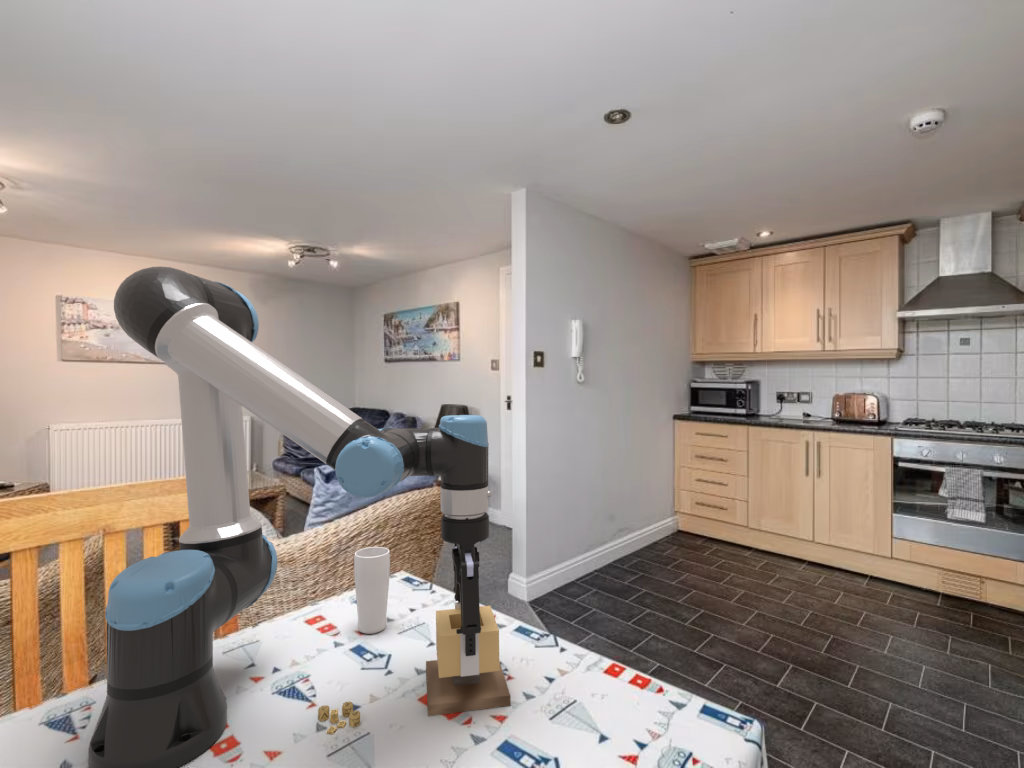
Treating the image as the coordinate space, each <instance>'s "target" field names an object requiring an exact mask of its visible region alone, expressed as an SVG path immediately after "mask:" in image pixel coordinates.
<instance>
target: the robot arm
mask: <svg viewBox="0 0 1024 768" xmlns="http://www.w3.org/2000/svg"><path fill="white" fill-rule="evenodd" d="M113 313H114V314H115V319H116V321H117V323H118V324H119V326H120V328H121V329H122V330H123V331H124V333H125V334H126V335H127V336H128V337H129V338H130V339H131V340H132V341H134V342H135V343H137V344H138V345H139V346H140V347H142V348H143V349H145V350H146V351H147V352H149V353H151V354H152V355H154V356H155V357H156V358H158V360H160V361H162V362H164V363H165V366H166V367H168V368H170V370H172V371H173V372H175V374H176V375H177V377H178V378H177V379H178V391H179V404H180V419H181V431H182V432H181V433H182V443H183V444H182V445H183V457H184V468H185V469H184V471H185V483H186V485H185V486H186V495H187V496H186V498H187V510H188V523H189V525H188V527H187V529H185V531H184V532H183V533H182V534H181V535H180V537H179V538H178V543H179V545H178V546H179V550H174V551H173V550H172V551H169V552H163V553H160V554H159V555H158V556H149V557H146V558H143V559H141V560H139V561H138V562H134V563H133V564H131V565H129V566H128V567H126V568H124V569H123V570H121V572H119V573H118V574H117V575H116V576H115V577H114V578H113V580H112V582H110V584H109V585H110V586H109V588H108V592H107V593H108V596H107V605H106V607H105V613H104V614H105V620H106V699H105V700H104V702H103V706H102V709H101V711H100V715H99V716H98V720H97V722H96V724H95V728H94V730H93V733H92V736H91V739H90V742H89V746H88V758H87V759H88V762H87V763H88V765H87V766H89V767H88V768H178V767H180V766H182V765H185V764H186V763H188V762H190V761H191V760H194V759H195V758H196V757H199V755H200V756H201V754H203V753H204V752H205V751H207V750H208V749H209V748H211V746H213V744H215V743H216V742H217V740H219V738H220V737H221V735H222V734H223V733H224V731H225V729H226V727H227V723H228V705H227V700H226V696H225V695H224V692H223V689H222V687H221V685H220V682H219V680H218V678H217V675H216V672H215V670H214V664H213V662H214V661H213V660H214V659H213V658H214V657H213V654H214V653H213V651H214V632H216V631H217V630H219V628H222V626H223V625H225V624H227V622H229V621H231V620H232V619H233V618H234V617H235V616H236V615H238V614H240V613H241V612H242V611H243V610H246V609H247V608H249V607H251V606H253V604H254V603H256V602H257V601H258V600H259V599H260V598H261V597H262V595H263V594H264V593H265V592H266V591H267V590H268V589H269V587H271V585H272V583H273V581H274V579H275V578H276V574H277V570H278V554H277V551H276V548H275V546H274V544H273V542H271V541H270V540H268V537H267V536H266V535H265V534H263V524H262V522H260V520H258V519H257V518H255V517H253V516H252V514H251V506H250V494H249V493H250V492H249V478H248V469H247V465H248V464H247V455H246V453H247V452H246V440H245V439H246V438H245V430H244V428H245V427H244V415H243V408H244V409H245V410H247V411H249V412H250V413H252V414H253V415H254V416H256V417H257V418H258V419H260V420H261V421H263V422H265V423H266V424H268V425H269V426H271V427H272V428H273V429H275V430H276V431H277V432H279V433H280V434H281V435H283V436H285V437H287V439H289V440H290V441H292V442H294V443H295V444H297V445H298V446H300V447H301V448H303V449H304V450H305V451H307V452H308V453H309V454H311V455H312V456H313V457H315V458H317V459H319V460H320V461H321V462H323V463H324V464H325V465H327V466H328V467H330V468H332V470H334V471H335V476H336V478H337V481H338V483H339V484H340V487H341V488H343V491H345V492H346V493H347V494H350V495H351V496H353V497H357V498H362V499H370V498H373V497H376V496H380V495H383V494H386V493H387V492H390V491H391V490H392V489H393V488H394V487H395V486H397V485H398V484H399V483H400V482H402V481H404V480H405V479H406V478H408V477H427V476H429V477H436V476H438V477H439V476H440V487H439V488H440V489H439V490H440V512H441V513H442V514H443V515H441V517H440V534H441V535H440V536H441V539H442V540H443V541H444V542H445V543H448V544H453V545H454V547H453V548H451V556H452V563H453V564H452V565H453V572H454V574H453V575H454V577H453V580H454V581H453V582H454V585H453V593H455V594H454V597H453V598H454V600H455V602H454V609H461V629H457V630H456V632H457V634H460V674H461V677H463V676H471V675H479V633H480V632H481V626H480V607H481V606H480V585H479V583H480V582H479V579H480V572H479V568H480V552H479V551H478V546H476V544H477V543H481V542H483V541H486V540H487V539H488V538H489V536H490V515H489V514H488V513H487V511H489V499H488V498H490V497H491V498H492V497H493V492H492V490H489V445H490V444H489V437H488V436H489V435H488V422H487V420H486V418H485V417H484V416H482V415H477V414H459V415H456V414H453V415H451V414H450V415H444V416H442V417H441V418H440V420H439V425H438V427H434V428H433V427H431V428H398V427H397V428H394V427H393V428H392V427H385V428H377V427H375V426H374V425H372V424H371V423H369V422H367V421H366V420H364V419H363V418H362V417H361V416H359V414H357V413H355V412H353V411H352V410H351V409H349V407H348V408H347V407H346V406H345V405H344V404H342V403H341V402H339V401H338V400H337V399H334V398H333V397H332V396H330V395H329V394H327V393H326V392H324V391H323V390H321V389H320V388H319V387H317V386H316V385H314V384H313V383H312V382H310V381H309V380H307V379H306V378H305V377H303V376H301V375H300V374H299V373H297V372H295V371H294V370H293V369H291V368H290V367H289V366H287V365H285V364H284V363H283V362H281V361H280V360H278V359H276V358H275V357H273V356H272V355H271V354H269V353H267V352H266V351H265V350H263V349H262V348H261V347H259V346H258V345H256V344H255V343H253V342H254V341H256V339H257V337H258V334H259V327H260V325H259V324H260V321H259V316H258V313H257V310H256V309H255V307H254V304H253V303H252V302H251V301H250V299H248V298H247V296H245V295H244V294H243V293H241V292H239V290H236V289H234V288H233V287H231V286H230V285H227V284H225V283H222V282H219V281H213V280H210V279H207V278H204V277H200V276H198V275H195V274H192V273H189V272H186V271H184V270H182V269H179V268H175V267H171V266H150V267H145V268H142V269H139V270H136V271H135V272H133V273H131V274H130V275H129V276H127V277H126V278H125V279H124V280H123V281H122V282H121V283H120V284H119V286H118V288H117V290H116V292H115V294H114V298H113Z"/></svg>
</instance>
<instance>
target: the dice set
mask: <svg viewBox="0 0 1024 768" xmlns="http://www.w3.org/2000/svg"><path fill="white" fill-rule="evenodd" d="M341 708H342V710H341V714H342V715H341V716H342V717H344V718H347V717H348V718H349V719H348V725H349V727H351V728H352V727H353V728H355V727H358V726H360V723H361V711H360V710H354V703H353V702H352V701H345V702H344V703H342V705H341ZM328 719H329V722H330V723H331V724H332V725H330V726H329V727H328V728H327V730H326V735H327V734H328V735H334V734H336V731H337V730H338V729H345V727H346V726H347V720H340V718H339V708H335V709H334V708H333V709H330V706H329V705H321V706H320V707H318V710H317V720H318V721H320V722H325V721H326V720H328ZM336 723H337V724H336ZM334 724H336V726H333V725H334Z"/></svg>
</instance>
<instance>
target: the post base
mask: <svg viewBox="0 0 1024 768" xmlns="http://www.w3.org/2000/svg"><path fill="white" fill-rule="evenodd" d="M425 676H426V677H425V678H426V679H425V680H426V701H427V703H426V704H427V717H429V716H430V717H431V716H437V715H446V714H453V713H454V714H455V713H461V712H470V711H471V712H472V711H477V710H478V711H479V710H484V709H485V710H486V709H493V708H501V707H502V708H503V707H509V706H510V707H511V693H510V689H509V686H508V684H507V681H506V677H505V673H504V671H503V667H502V665H501V661H500V660H499V671H494V672H486V673H479V675H471V676H463V677H461V675H460V676H452V677H444V678H439V673H438V661H437V659H435V660H434V659H433V660H425Z"/></svg>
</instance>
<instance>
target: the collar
mask: <svg viewBox="0 0 1024 768" xmlns="http://www.w3.org/2000/svg"><path fill="white" fill-rule="evenodd" d="M480 626H481V632H480V633H479V673H486V672H494V671H499V661H500V629H499V627H498V624H497V621H496V618H495V615H494V613H493V610H492V606H491V605H484V606H480ZM457 629H461V609H455V608H452V609H450V608H449V609H441V610H435V636H436V638H435V640H436V644H435V646H436V649H435V650H436V658H437V659H436V660H437V661H438V673H439V678H444V677H452V676H460V675H461V674H460V634H457V632H456V630H457Z"/></svg>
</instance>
